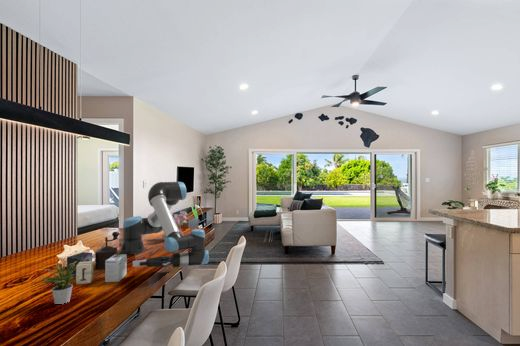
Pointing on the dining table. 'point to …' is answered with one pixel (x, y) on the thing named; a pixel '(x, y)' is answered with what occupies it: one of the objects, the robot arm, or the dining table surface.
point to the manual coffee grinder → (105, 253)
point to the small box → (78, 260)
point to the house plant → (61, 284)
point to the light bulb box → (115, 268)
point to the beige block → (84, 272)
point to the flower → (177, 220)
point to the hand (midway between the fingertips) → (132, 263)
